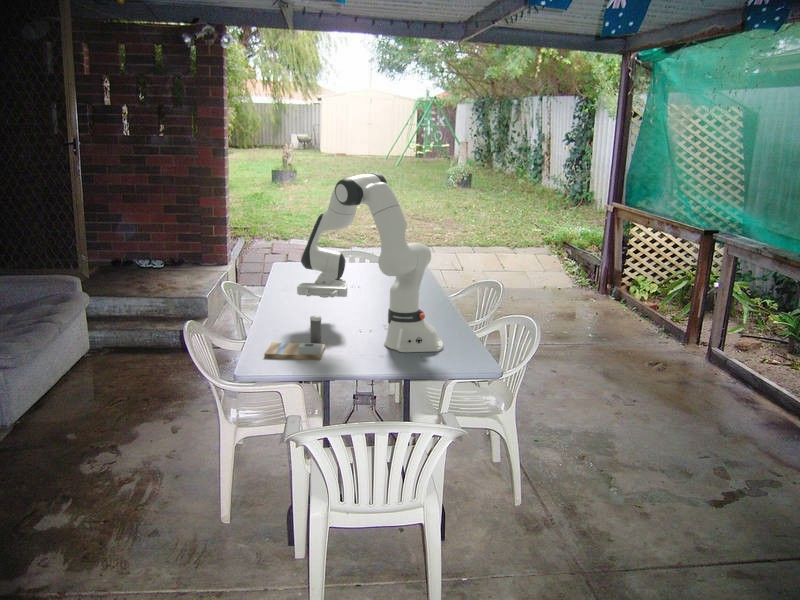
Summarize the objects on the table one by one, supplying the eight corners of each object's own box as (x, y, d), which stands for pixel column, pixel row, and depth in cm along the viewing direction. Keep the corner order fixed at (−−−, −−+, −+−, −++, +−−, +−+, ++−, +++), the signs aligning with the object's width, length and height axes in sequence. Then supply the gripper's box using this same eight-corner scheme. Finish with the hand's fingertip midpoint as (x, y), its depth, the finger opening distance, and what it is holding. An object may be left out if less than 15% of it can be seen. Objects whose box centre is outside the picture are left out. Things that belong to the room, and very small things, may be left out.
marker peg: (322, 343, 261) (322, 315, 258) (320, 346, 257) (320, 318, 254) (311, 342, 261) (311, 315, 259) (309, 346, 257) (309, 318, 254)
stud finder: (322, 351, 248) (322, 343, 247) (320, 355, 244) (320, 347, 243) (300, 350, 248) (300, 342, 247) (298, 354, 244) (298, 346, 243)
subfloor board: (325, 348, 256) (325, 344, 255) (320, 359, 243) (320, 355, 243) (272, 346, 256) (271, 342, 256) (264, 357, 244) (264, 353, 243)
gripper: (299, 278, 281) (293, 286, 267) (349, 280, 280) (345, 288, 267) (299, 292, 282) (293, 301, 269) (349, 294, 282) (345, 303, 269)
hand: (320, 294), depth 268 cm, fingers open, 8 cm apart
